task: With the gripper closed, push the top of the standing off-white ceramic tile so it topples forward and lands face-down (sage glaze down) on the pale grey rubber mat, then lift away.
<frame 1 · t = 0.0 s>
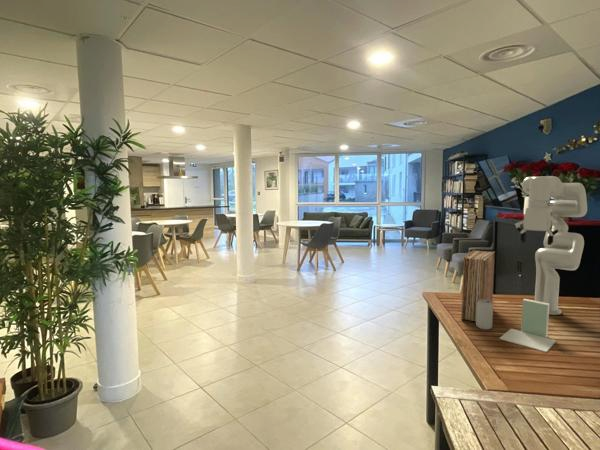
hand: (536, 243, 152), 37 cm above the table, tool pointing down, fingers open, 9 cm apart
glazed tile: (533, 333, 145), on the table
book: (477, 314, 168), on the table
beverage can: (483, 327, 152), on the table
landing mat: (527, 340, 139), on the table
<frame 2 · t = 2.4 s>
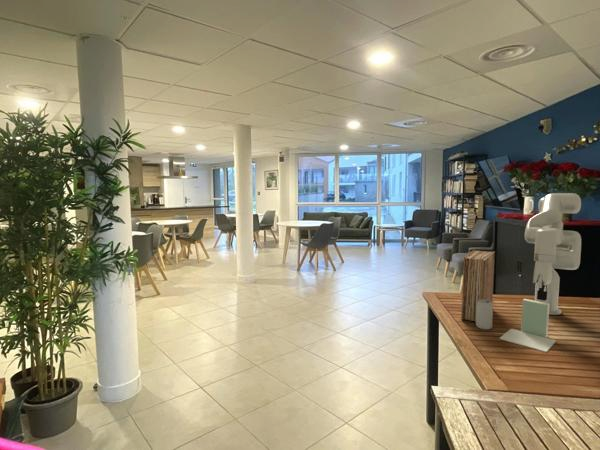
hand: (541, 299, 149), 13 cm above the table, tool pointing down, fingers closed
nothing on the table moved.
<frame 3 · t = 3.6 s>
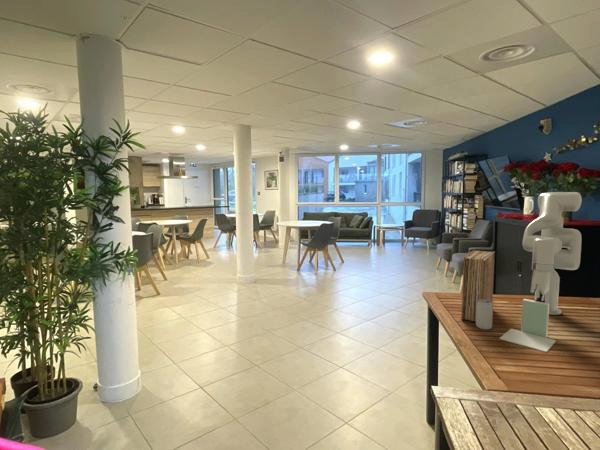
hand: (539, 308, 148), 9 cm above the table, tool pointing down, fingers closed
nothing on the table moved.
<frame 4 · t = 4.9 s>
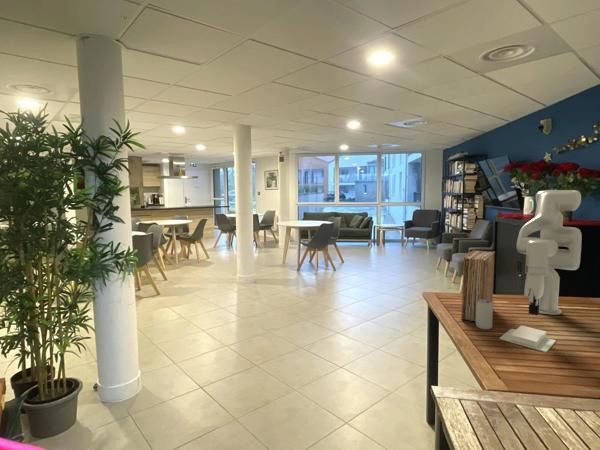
hand: (533, 313, 142), 9 cm above the table, tool pointing down, fingers closed
glazed tile: (533, 330, 144), point 2 cm above the table, tilted 90°, touching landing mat
everything else where it was.
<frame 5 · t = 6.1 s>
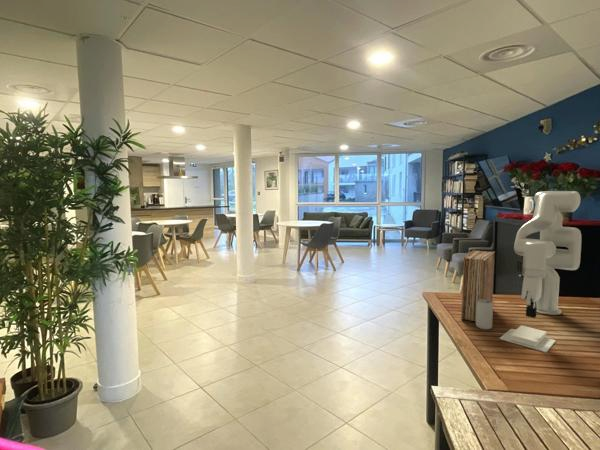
hand: (530, 316, 140), 9 cm above the table, tool pointing down, fingers closed
nothing on the table moved.
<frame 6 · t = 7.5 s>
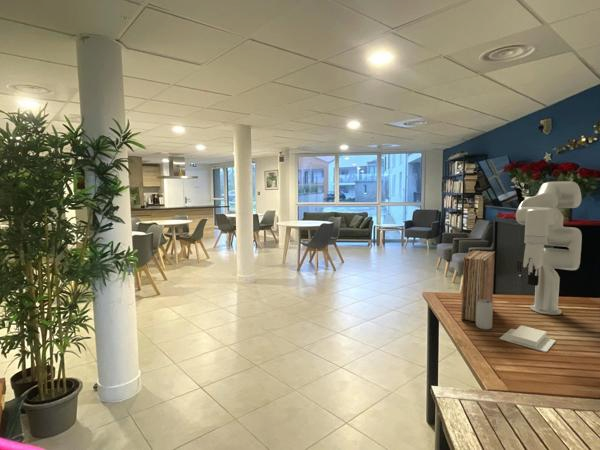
hand: (533, 284, 139), 22 cm above the table, tool pointing down, fingers closed
nothing on the table moved.
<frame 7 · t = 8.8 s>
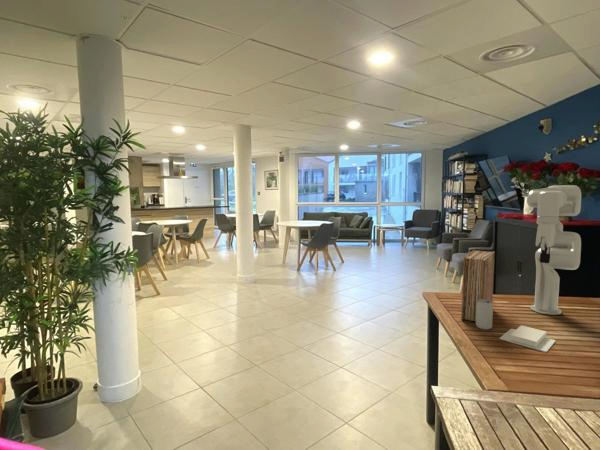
hand: (544, 262, 149), 29 cm above the table, tool pointing down, fingers closed
nothing on the table moved.
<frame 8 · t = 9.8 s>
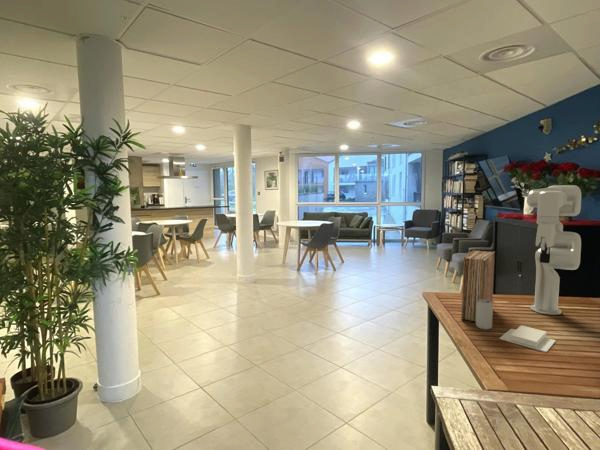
hand: (544, 262, 149), 29 cm above the table, tool pointing down, fingers closed
nothing on the table moved.
at the end: glazed tile tilted 90°; glazed tile inside the target area (1.8 cm from its centre), point 1.7 cm above the table; glazed tile touching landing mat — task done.
